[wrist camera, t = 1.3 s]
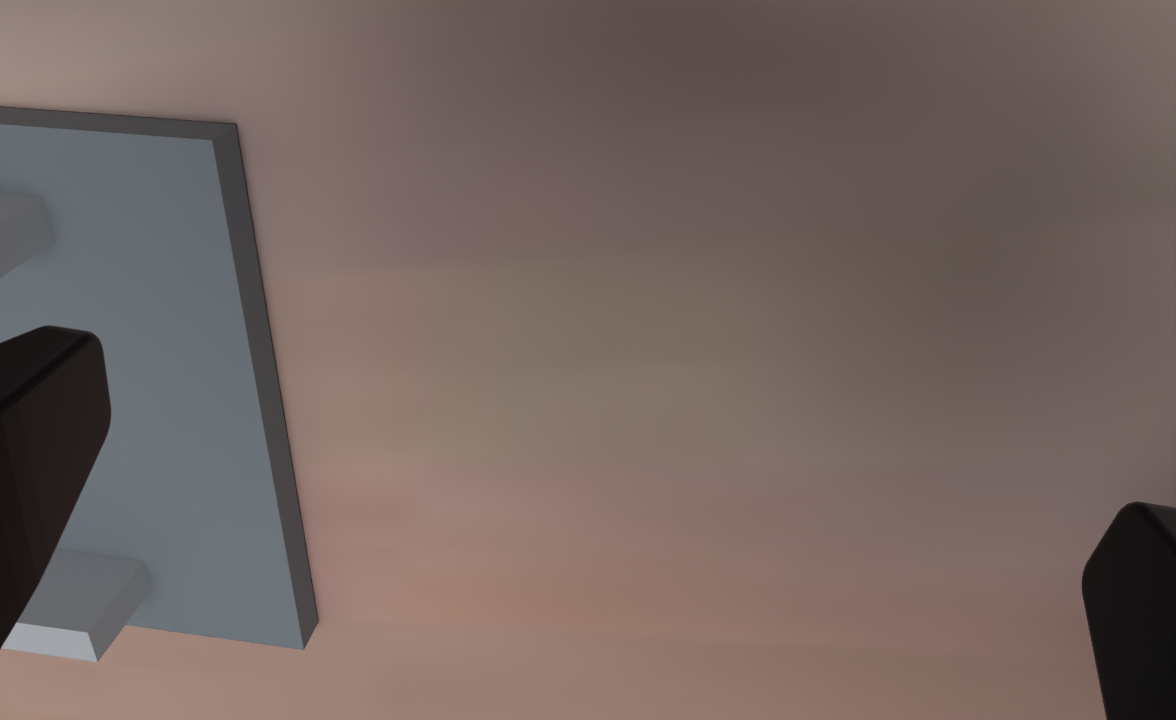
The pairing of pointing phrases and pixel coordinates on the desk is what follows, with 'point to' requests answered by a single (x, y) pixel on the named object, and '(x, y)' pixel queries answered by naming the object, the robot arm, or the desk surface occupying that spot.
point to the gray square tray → (156, 382)
